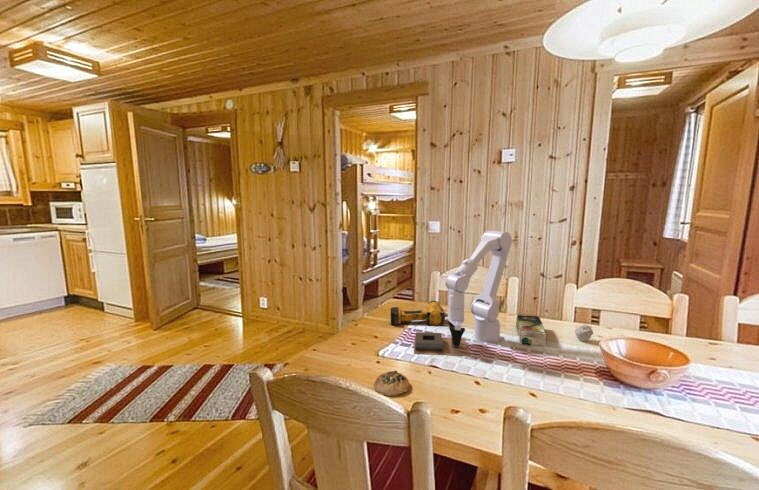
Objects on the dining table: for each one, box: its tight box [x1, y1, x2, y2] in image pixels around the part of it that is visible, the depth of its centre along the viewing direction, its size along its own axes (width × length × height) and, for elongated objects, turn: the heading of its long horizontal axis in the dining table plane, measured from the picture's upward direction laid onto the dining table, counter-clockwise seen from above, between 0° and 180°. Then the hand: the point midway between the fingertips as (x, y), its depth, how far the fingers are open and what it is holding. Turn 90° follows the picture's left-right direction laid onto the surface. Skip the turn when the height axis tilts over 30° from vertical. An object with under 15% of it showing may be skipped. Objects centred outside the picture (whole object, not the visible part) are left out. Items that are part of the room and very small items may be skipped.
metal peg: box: [450, 334, 459, 348], centre depth 133 cm, size 3×3×7 cm
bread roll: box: [373, 370, 411, 397], centre depth 107 cm, size 11×11×5 cm
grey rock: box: [574, 324, 594, 342], centre depth 140 cm, size 6×7×7 cm
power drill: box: [390, 300, 446, 327], centre depth 168 cm, size 7×24×25 cm
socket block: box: [414, 331, 443, 352], centre depth 135 cm, size 10×10×3 cm
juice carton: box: [515, 314, 547, 347], centre depth 145 cm, size 20×10×6 cm, turn 164°
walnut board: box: [413, 335, 471, 357], centre depth 134 cm, size 20×16×1 cm
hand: (455, 341), depth 133 cm, fingers open, 6 cm apart
